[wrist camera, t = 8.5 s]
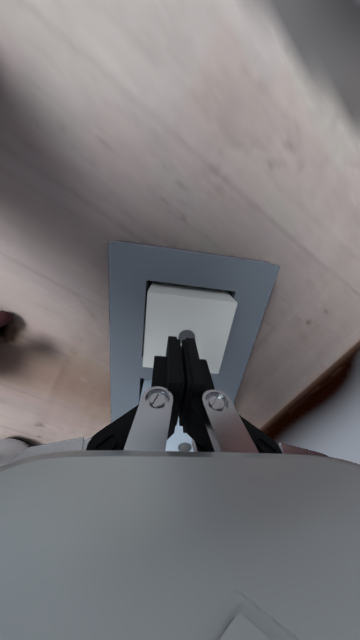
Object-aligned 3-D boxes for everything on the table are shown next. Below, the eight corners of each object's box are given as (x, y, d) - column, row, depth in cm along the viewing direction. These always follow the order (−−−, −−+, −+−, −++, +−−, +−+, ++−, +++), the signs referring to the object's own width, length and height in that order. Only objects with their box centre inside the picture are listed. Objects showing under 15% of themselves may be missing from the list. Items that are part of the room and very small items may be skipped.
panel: (118, 240, 17) (108, 241, 15) (264, 261, 18) (280, 265, 16) (117, 463, 31) (112, 485, 28) (201, 468, 32) (204, 489, 29)
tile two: (145, 375, 21) (137, 409, 17) (206, 380, 22) (213, 415, 18) (141, 418, 24) (134, 457, 20) (196, 422, 25) (200, 460, 20)
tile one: (153, 279, 18) (147, 292, 14) (224, 288, 19) (238, 303, 15) (148, 341, 21) (142, 367, 17) (210, 347, 22) (218, 374, 18)
